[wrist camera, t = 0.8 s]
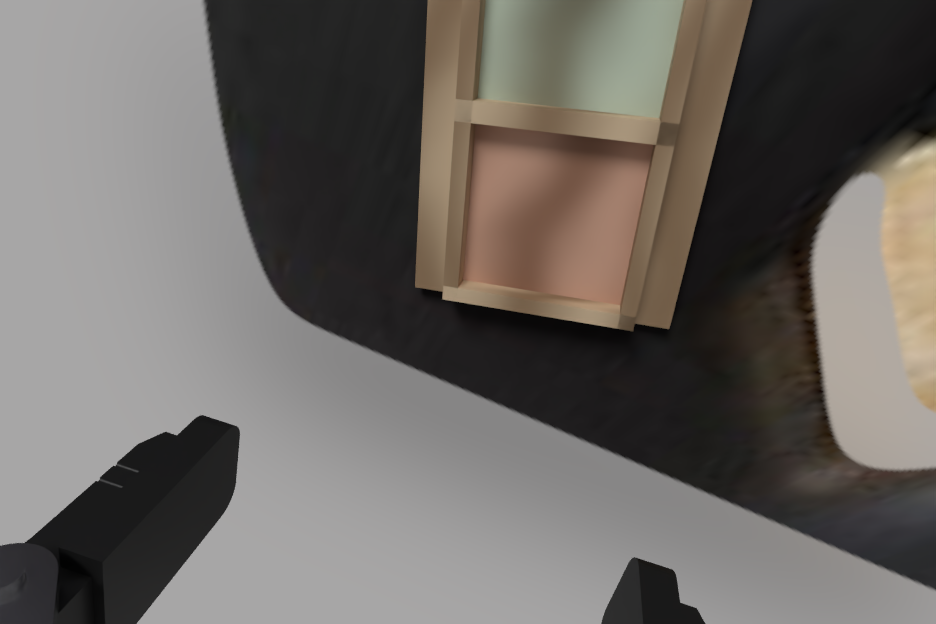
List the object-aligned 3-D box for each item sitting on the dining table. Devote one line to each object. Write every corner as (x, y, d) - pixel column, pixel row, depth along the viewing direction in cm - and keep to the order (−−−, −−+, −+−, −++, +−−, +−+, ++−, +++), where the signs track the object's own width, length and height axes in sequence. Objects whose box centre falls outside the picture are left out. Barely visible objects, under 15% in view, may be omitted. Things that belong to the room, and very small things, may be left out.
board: (779, -125, 24) (794, -139, 22) (668, 321, 33) (671, 341, 31) (440, -140, 27) (425, -155, 25) (420, 280, 36) (407, 296, 33)
